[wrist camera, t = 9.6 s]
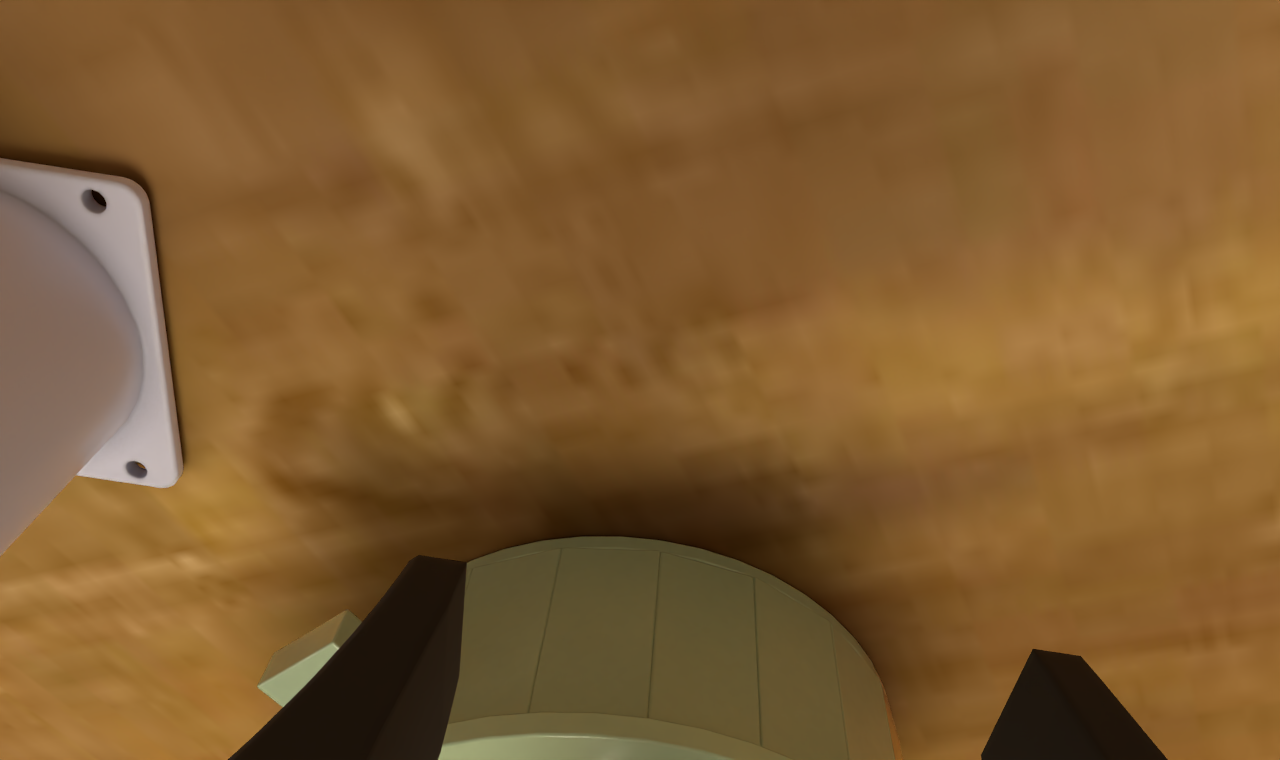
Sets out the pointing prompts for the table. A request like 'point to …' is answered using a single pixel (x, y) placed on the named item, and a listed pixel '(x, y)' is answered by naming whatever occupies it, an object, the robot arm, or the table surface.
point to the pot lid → (590, 739)
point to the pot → (647, 647)
